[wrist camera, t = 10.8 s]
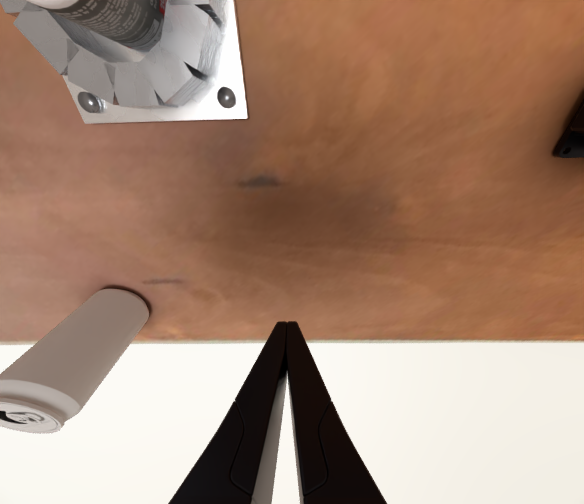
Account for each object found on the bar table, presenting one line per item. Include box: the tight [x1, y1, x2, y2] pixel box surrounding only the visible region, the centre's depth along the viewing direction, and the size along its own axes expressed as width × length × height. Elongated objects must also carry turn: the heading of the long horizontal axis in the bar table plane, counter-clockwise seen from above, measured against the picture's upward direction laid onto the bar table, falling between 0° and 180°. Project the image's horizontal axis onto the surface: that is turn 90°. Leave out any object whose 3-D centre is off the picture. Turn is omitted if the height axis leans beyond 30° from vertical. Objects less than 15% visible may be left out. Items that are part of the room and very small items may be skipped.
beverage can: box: [0, 289, 149, 433], centre depth 21 cm, size 6×6×12 cm
